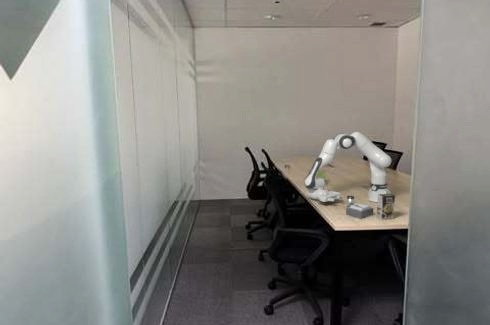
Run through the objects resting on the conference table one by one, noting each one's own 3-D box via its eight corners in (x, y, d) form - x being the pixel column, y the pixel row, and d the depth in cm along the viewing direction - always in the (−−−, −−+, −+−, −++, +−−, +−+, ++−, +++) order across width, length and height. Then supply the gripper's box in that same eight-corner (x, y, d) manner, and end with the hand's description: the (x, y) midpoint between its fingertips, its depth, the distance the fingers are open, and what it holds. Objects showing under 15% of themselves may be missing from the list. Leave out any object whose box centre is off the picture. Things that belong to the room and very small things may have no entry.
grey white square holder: (358, 211, 243) (358, 202, 242) (373, 215, 233) (373, 205, 232) (346, 214, 235) (346, 205, 234) (361, 219, 225) (361, 209, 224)
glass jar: (349, 208, 251) (349, 195, 249) (355, 209, 247) (355, 196, 245) (345, 209, 248) (345, 196, 246) (351, 211, 243) (351, 197, 242)
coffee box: (382, 220, 222) (383, 196, 220) (376, 217, 228) (377, 194, 226) (394, 219, 224) (395, 195, 222) (388, 216, 230) (389, 193, 228)
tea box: (324, 183, 339) (324, 169, 337) (325, 185, 329) (325, 170, 327) (308, 183, 340) (309, 169, 338) (309, 185, 331) (310, 170, 328)
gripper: (315, 193, 259) (329, 197, 248) (332, 189, 271) (346, 192, 260) (315, 201, 260) (329, 205, 249) (332, 197, 272) (346, 200, 261)
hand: (338, 198), depth 255 cm, fingers open, 8 cm apart
